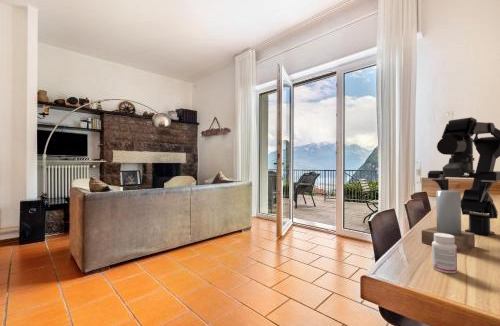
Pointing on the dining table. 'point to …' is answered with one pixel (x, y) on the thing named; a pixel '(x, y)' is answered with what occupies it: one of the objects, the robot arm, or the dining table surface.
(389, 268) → the dining table surface
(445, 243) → the pill bottle
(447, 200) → the grey cylinder
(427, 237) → the walnut box
